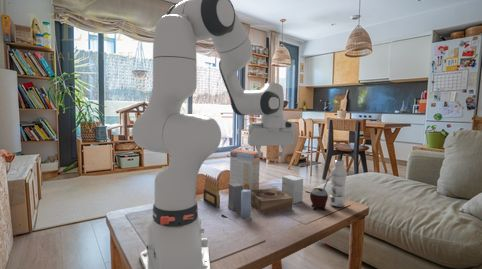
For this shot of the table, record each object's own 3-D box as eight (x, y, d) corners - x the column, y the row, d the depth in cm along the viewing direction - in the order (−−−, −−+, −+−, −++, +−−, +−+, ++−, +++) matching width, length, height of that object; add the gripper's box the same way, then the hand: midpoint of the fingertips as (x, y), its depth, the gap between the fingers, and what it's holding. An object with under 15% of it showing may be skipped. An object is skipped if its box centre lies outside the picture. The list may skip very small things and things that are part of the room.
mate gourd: (306, 207, 111) (308, 172, 109) (316, 203, 116) (318, 170, 115) (321, 213, 105) (324, 176, 104) (332, 208, 110) (334, 173, 109)
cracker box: (259, 196, 124) (260, 152, 122) (251, 199, 120) (252, 153, 117) (237, 189, 133) (238, 148, 131) (228, 191, 129) (229, 149, 127)
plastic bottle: (345, 209, 110) (348, 162, 108) (328, 207, 112) (330, 161, 110) (344, 204, 116) (347, 159, 114) (328, 202, 118) (331, 158, 116)
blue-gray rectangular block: (251, 217, 99) (252, 192, 98) (242, 219, 98) (243, 192, 97) (248, 214, 102) (248, 189, 101) (239, 215, 101) (240, 189, 100)
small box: (302, 201, 118) (303, 178, 117) (293, 203, 115) (294, 180, 114) (289, 196, 125) (290, 174, 124) (281, 198, 121) (282, 176, 120)
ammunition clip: (219, 207, 109) (220, 178, 108) (216, 208, 108) (216, 179, 107) (206, 199, 117) (207, 173, 116) (203, 200, 116) (203, 173, 115)
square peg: (242, 209, 107) (242, 185, 106) (233, 210, 105) (233, 186, 104) (237, 205, 111) (237, 182, 110) (228, 207, 109) (228, 183, 108)
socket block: (292, 209, 108) (292, 197, 108) (261, 213, 103) (261, 201, 103) (275, 198, 121) (276, 187, 121) (247, 201, 116) (248, 190, 116)
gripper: (251, 123, 102) (250, 158, 104) (297, 123, 110) (295, 156, 111) (245, 122, 108) (244, 155, 110) (289, 122, 115) (287, 154, 117)
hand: (270, 156), depth 110 cm, fingers open, 8 cm apart
